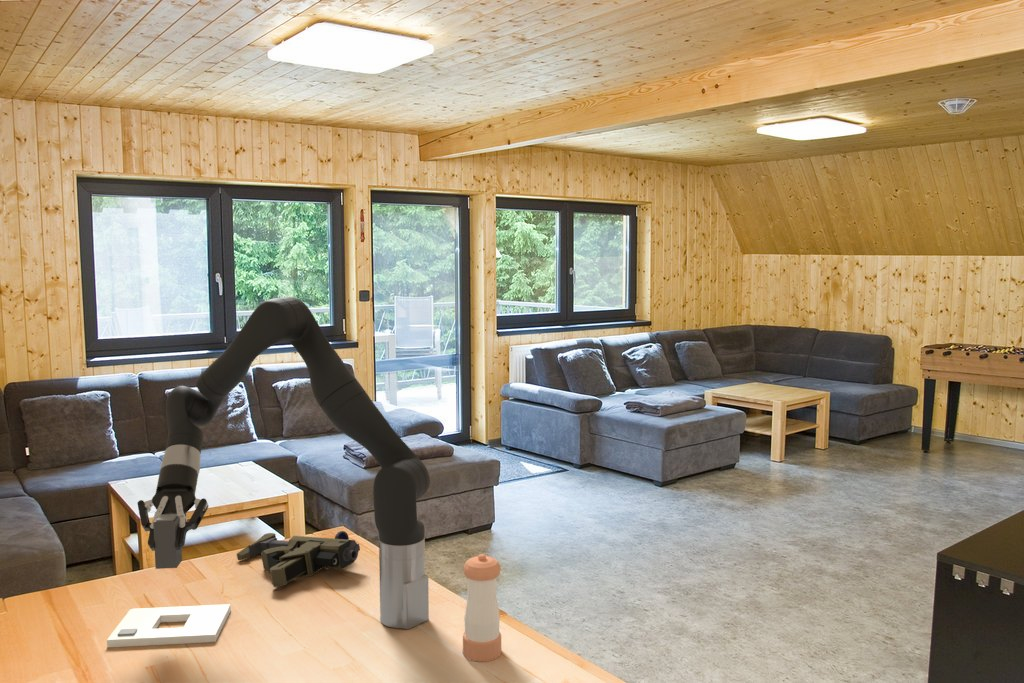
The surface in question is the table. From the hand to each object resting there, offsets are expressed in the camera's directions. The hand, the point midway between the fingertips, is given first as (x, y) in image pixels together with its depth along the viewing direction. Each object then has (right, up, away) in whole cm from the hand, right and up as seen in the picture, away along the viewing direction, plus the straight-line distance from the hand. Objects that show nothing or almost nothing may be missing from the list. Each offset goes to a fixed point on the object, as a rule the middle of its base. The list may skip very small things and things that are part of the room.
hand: (165, 548), depth 165 cm
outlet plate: (0, -17, +4) cm, 17 cm away
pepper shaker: (+62, -19, -6) cm, 65 cm away
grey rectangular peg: (0, -4, +2) cm, 5 cm away
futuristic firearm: (+16, -14, +35) cm, 41 cm away
